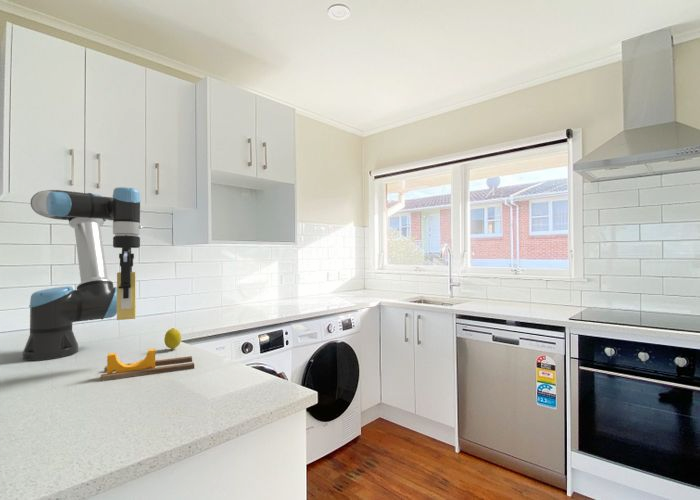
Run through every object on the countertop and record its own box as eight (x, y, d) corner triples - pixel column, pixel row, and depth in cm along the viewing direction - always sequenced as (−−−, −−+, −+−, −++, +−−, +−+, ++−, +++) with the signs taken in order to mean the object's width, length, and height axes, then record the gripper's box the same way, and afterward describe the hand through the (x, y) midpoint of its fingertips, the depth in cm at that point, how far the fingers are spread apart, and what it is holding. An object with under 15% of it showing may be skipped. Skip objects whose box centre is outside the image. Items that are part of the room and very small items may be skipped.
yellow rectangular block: (117, 318, 120) (118, 272, 120) (135, 317, 122) (135, 272, 122) (116, 320, 116) (117, 272, 117) (135, 318, 119) (135, 272, 119)
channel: (105, 370, 111) (105, 366, 111) (191, 359, 122) (191, 356, 122) (100, 380, 101) (100, 376, 101) (194, 368, 113) (194, 364, 113)
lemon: (172, 352, 132) (172, 329, 132) (160, 350, 134) (160, 328, 134) (184, 348, 137) (184, 326, 137) (172, 347, 139) (172, 326, 139)
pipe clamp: (155, 368, 113) (155, 347, 113) (155, 372, 109) (155, 350, 110) (108, 374, 108) (109, 352, 108) (107, 378, 104) (107, 355, 104)
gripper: (138, 234, 114) (138, 310, 114) (140, 237, 129) (140, 304, 128) (110, 233, 111) (109, 312, 110) (115, 236, 125) (115, 305, 125)
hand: (126, 307), depth 119 cm, fingers closed on yellow rectangular block, 3 cm apart
